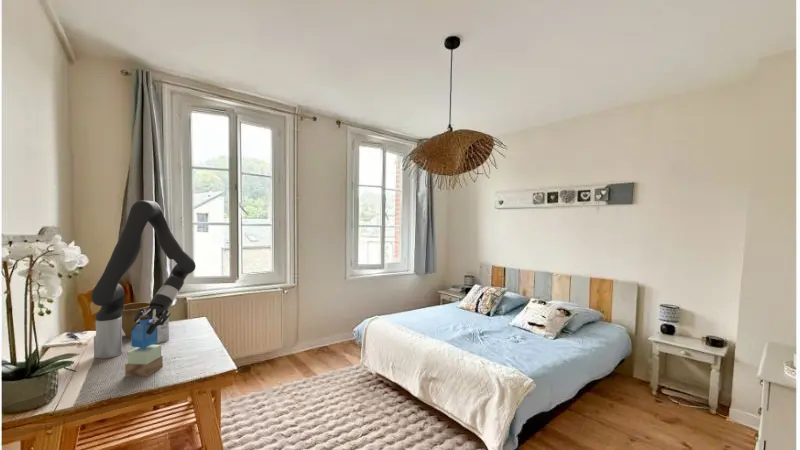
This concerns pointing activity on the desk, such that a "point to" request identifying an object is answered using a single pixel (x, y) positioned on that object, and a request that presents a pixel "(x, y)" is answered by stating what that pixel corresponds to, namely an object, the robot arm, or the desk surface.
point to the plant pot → (131, 316)
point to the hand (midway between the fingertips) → (141, 332)
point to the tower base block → (143, 368)
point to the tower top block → (144, 354)
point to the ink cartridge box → (162, 331)
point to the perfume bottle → (143, 334)
